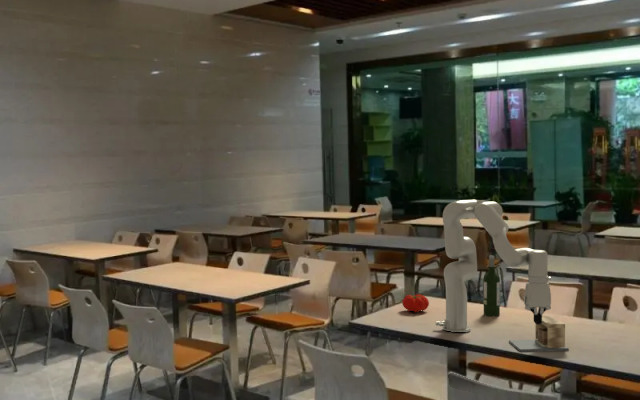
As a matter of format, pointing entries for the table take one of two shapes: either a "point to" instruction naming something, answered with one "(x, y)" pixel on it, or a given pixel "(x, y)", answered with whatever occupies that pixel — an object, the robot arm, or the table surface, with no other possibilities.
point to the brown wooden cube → (542, 335)
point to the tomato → (415, 302)
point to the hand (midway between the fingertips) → (537, 323)
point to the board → (533, 346)
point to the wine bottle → (491, 290)
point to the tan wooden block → (552, 331)
